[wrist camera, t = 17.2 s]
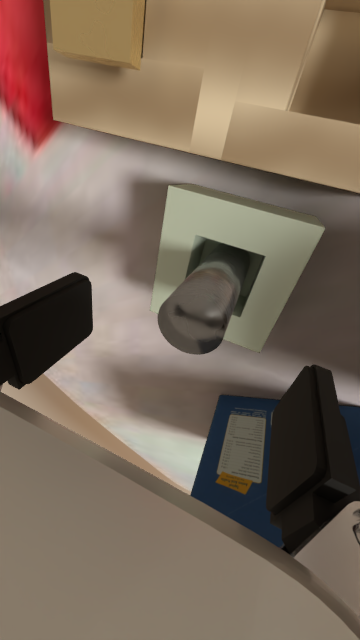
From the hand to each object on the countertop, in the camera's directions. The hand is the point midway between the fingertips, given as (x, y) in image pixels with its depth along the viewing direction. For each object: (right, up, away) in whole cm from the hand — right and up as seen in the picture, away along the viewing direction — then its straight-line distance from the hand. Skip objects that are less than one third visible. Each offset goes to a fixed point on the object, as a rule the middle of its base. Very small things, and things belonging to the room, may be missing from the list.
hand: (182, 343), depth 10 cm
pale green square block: (+4, +6, +12) cm, 14 cm away
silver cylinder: (+4, +6, +11) cm, 13 cm away
